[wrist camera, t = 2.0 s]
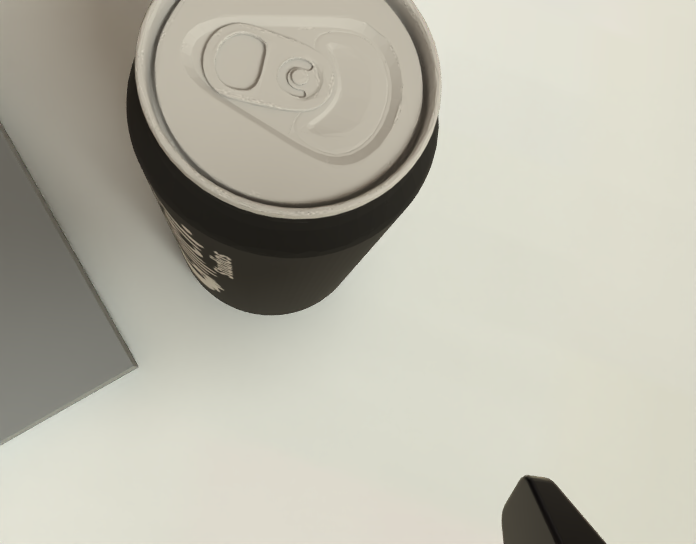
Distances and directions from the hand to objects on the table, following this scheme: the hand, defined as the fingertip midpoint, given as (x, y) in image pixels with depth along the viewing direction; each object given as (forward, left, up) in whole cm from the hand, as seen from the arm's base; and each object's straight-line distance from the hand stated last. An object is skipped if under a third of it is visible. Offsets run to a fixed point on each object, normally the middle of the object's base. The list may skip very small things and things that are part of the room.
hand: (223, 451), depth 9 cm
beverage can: (+4, +5, -13) cm, 15 cm away
